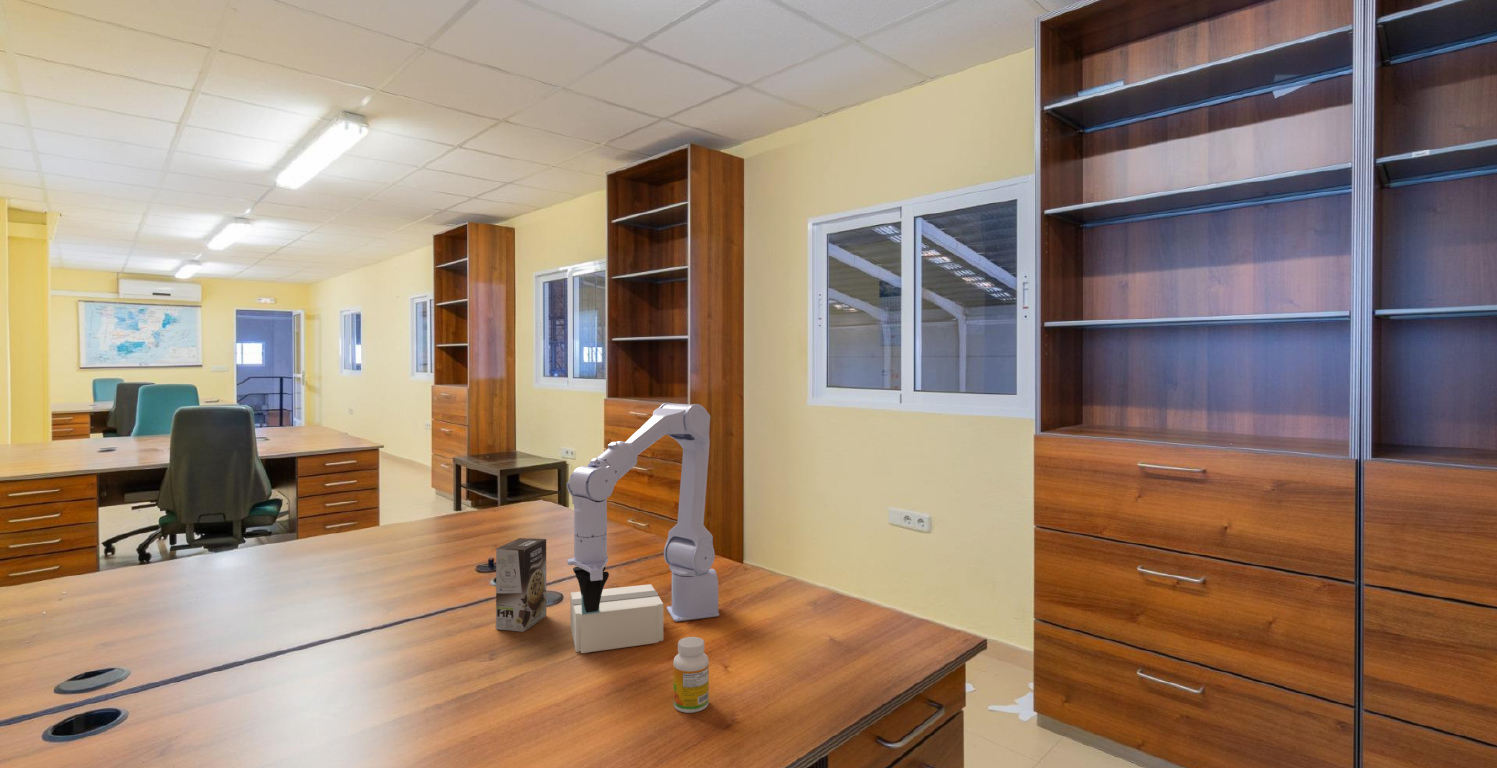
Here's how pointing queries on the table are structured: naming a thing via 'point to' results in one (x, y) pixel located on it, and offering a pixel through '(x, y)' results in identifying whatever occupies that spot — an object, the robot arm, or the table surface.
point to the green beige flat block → (618, 627)
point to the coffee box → (520, 584)
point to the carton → (617, 606)
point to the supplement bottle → (690, 676)
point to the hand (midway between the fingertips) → (590, 609)
